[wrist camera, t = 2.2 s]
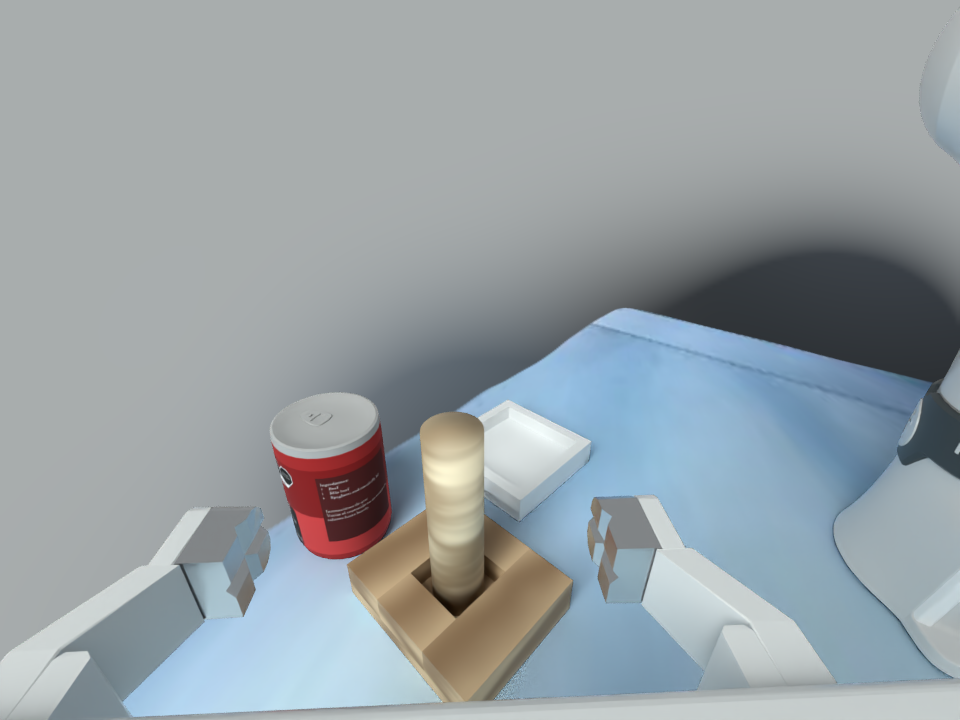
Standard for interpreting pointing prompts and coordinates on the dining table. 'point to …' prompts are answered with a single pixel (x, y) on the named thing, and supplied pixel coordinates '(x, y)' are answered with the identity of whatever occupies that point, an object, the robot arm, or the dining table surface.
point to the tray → (527, 457)
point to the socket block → (481, 627)
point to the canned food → (333, 472)
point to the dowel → (454, 506)
